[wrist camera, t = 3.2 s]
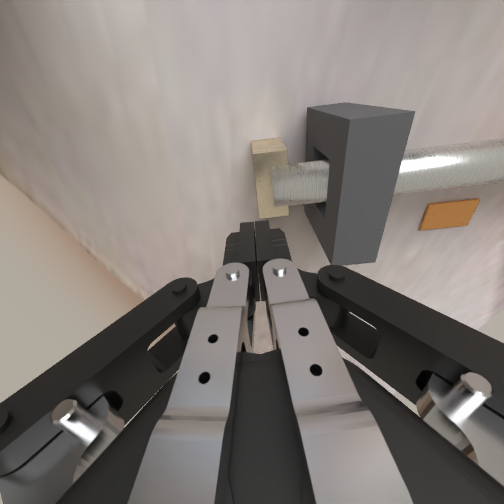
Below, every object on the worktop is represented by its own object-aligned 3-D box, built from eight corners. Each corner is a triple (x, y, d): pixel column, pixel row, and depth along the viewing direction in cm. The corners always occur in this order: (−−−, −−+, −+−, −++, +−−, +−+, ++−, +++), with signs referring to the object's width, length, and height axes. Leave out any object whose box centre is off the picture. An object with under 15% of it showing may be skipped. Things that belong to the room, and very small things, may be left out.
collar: (304, 210, 23) (331, 266, 16) (307, 107, 18) (350, 119, 11) (333, 207, 23) (375, 262, 16) (345, 102, 18) (415, 111, 11)
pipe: (261, 245, 26) (266, 286, 21) (251, 140, 20) (253, 160, 14) (518, 218, 25) (595, 254, 20) (595, 98, 19) (742, 102, 13)
